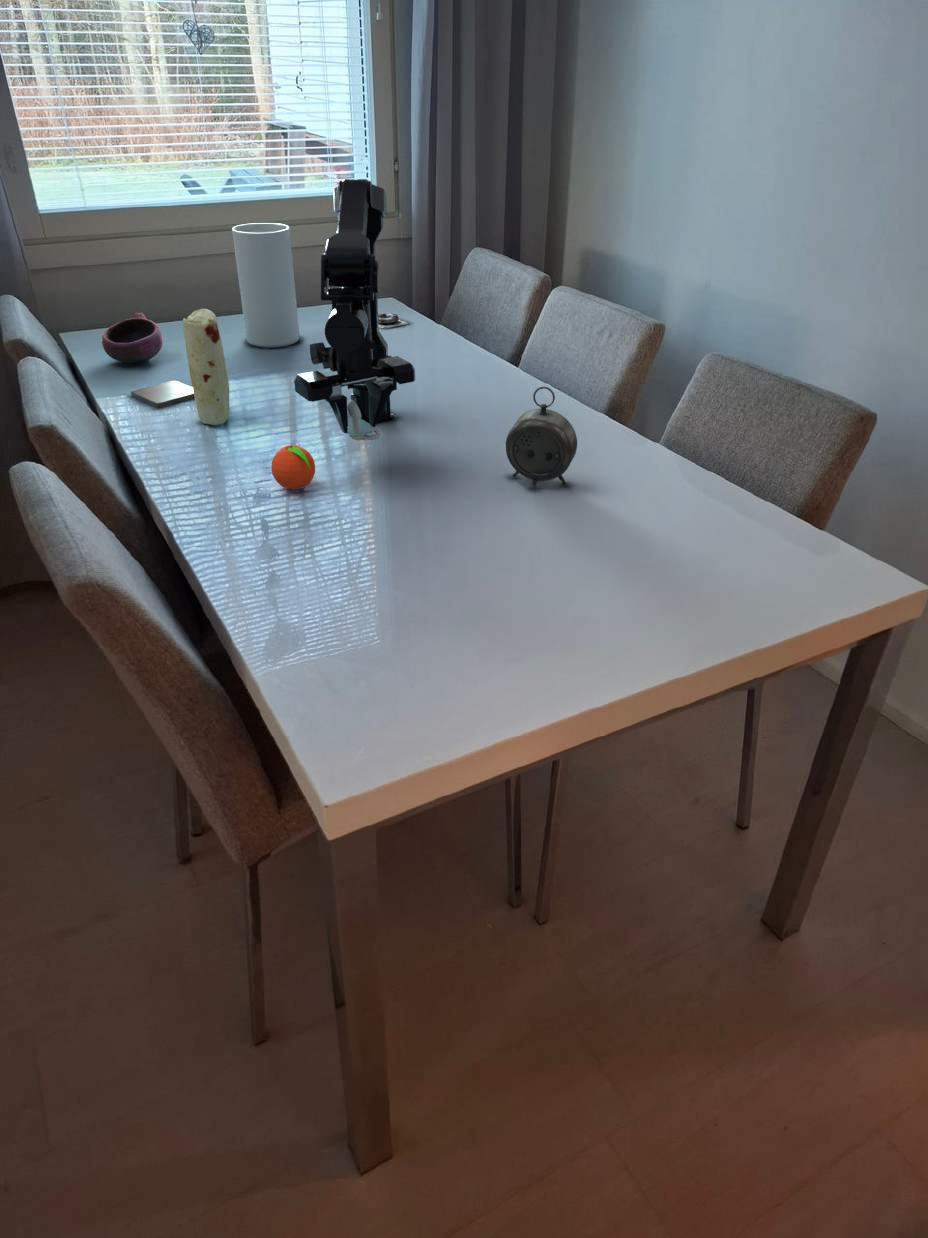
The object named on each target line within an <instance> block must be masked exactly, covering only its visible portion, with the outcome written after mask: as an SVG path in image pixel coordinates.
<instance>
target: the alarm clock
mask: <svg viewBox="0 0 928 1238" xmlns="http://www.w3.org/2000/svg"><path fill="white" fill-rule="evenodd" d="M544 389H545V390H547V391H549V392H550V393H551V395H552V401H551V402H550V404H548V405H547V404H546V403H541V404H540V403H538V402H537V400H536V395H537V392H539V391H540V390H544ZM532 398H533V402H534V403H535V405H536V406H538V407H540V408H534V409H531V410H528V411H525V412H524V413H523V414H521V415H520V416H519V417H518V418H517V419H516V421H515V422H514V424H513V425H512V427H511V429H510V430H509V431H508V433H507V436H506V440H505V454H506V457H507V459H508V461H509V463H510V465H511V467H512V468H513V469H514V470H515V471H514V473H512V477H513V478H516V477H517V476H518V475H519V474H520V475H521V476H522V477H524V478H526V479H528V480H532V484H531V488H532V489H534V490H535V489H536V488H537V486H538V485H537V484H538V482H549V481H552V480H555V479H558V480H559V481H561V483H562V485H563V486H566V485H567V481H566V480H565V478H564V477H565V476H563V475H564V473H566V471H567V470H568V469H569V467H570V465H571V463H572V462H573V460H574V458H575V456H576V453H577V449H578V437H577V433H576V431H575V429H574V427H573V425H572V424H571V422H570V421H569V420H568V419H567V418H566V417H565V416H563V415H562V414H561V413H559V412H557V411H555V410H552V409H548V408H549V407H551V406H552V405H554V403H555V400H556V396H555V392H554V391H553V390H552V388H550V387H548V386H545V385H544V386H539V387H537V388H536V389H535V391H533V396H532Z"/></svg>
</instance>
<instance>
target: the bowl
mask: <svg viewBox="0 0 928 1238" xmlns="http://www.w3.org/2000/svg"><path fill="white" fill-rule="evenodd" d="M101 339H102V340H101V344H102V349H103V351H104V352H105V354H106V355H107V356H109V357H110V358H111V359H113V360H116V361H118V362H121V363H125V364H126V363H127V364H139V363H145V362H147V361H149V360H151V359H153V358H154V357H155V356H157V355H158V354H159V353H160V351H161V350H162V347H163V344H164V343H163V334H162V331H161V329H160V327H159V325H158V324H157V323H156V322H154V321H152V320H150V319H148V318H147V316H146V315H145V314H144V313H143V312H135V313H134V314H133V316H132V317H131V318H127V319H124V320H122V321H119V322H117V323H115V324H113V325H111V326H109V327H108V328H106V330H105V331H104V333H103V334H102V338H101Z"/></svg>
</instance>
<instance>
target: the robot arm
mask: <svg viewBox="0 0 928 1238" xmlns="http://www.w3.org/2000/svg"><path fill="white" fill-rule="evenodd" d="M338 183H339V184H338V185H337V186H336V187H334V188H333V213H334V214H335V216H336V218H338V219H337V229H336V233H334V234H333V235H332V236H330V237H329V238H328V239H327V240H326V244H325V250H324V253H321V256H320V301H331V311H330V313H329V315H328V317H327V318H328V319H327V321H326V323H325V326H324V337H325V339H326V342H327V344H328V345H329V346H327V347H326V345H325V343H324V342H322V341H321V342H316V343H315V342H314V343H309V356H310V360H311V363H312V364H313V365H315V366H316V365H319V364H322V367H323V370H325V369H329V370H330V371H331V372H332V373H334V372H335V373H336V374H333V375H332V374H331V375H327V376H326V375H325V374H323V373H322V372H320V371H319V370H314V371H308V372H302V373H297V374H296V376H295V379H294V381H293V384H294V385H293V386H294V392H295V393H297V394H298V395H299V396H301V397H302V398H303V399H305V400H306V401H308V402H319V401H325V402H327V403H328V404H329V406H330V408H331V410H332V412H333V414H334V416H335V418H336V421H337V423H338V425H339V427H340V430H341V432H342V433H343V434H345V435H347V430H348V416H349V413H348V409H347V406H348V397H347V396H346V395H344V393H343V392H342V391H343V390H342V387H347V390H351V389H352V393H351V394H350V401H351V400H353V401H354V402H355V403H356V404H357V406H358V408H359V410H360V412H361V419H362V420H364V421H366V422H367V423H369V424H370V425H371V426H372V427H377V424H378V422H384V421H389V420H392V419H395V418H396V415H395V414H393V413H392V411H391V395H392V393H393V392H394V391H397V389H398V384H399V385H403V384H409V383H414V382H415V381H416V369H415V367H414V365H413V364H412V363H411V362H409V361H407V360H406V359H403V358H402V357H400V356H398V355H395V356H392V355H389V345H388V342H387V341H386V340H385V338H384V336H383V334H382V333H381V331H380V330H379V329H380V327H379V326H378V314H379V307H378V306H379V305H378V304H379V303H378V302H379V301H378V293H379V268H380V267H379V261H378V260H377V258H376V257H377V255H376V243H377V240H378V238H379V236H380V234H381V232H382V230H383V229H384V218H385V219H386V218H387V215H388V214H387V213H388V210H387V209H388V207H387V195H386V191H385V189H384V188H383V187H381V186H377V185H375V184H373V183H372V180H368V179H366V178H344V179H343V180H339V181H338ZM328 286H329V287H328Z"/></svg>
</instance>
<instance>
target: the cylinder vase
mask: <svg viewBox="0 0 928 1238" xmlns="http://www.w3.org/2000/svg"><path fill="white" fill-rule="evenodd" d="M231 232H232V237H233V238H232V240H233V248H234V255H235V263H236V270H237V278H238V285H239V286H238V287H239V293H240V300H241V307H242V308H241V309H242V316H243V323H244V331H245V332H244V333H245V338H246V341H247V343H248V344H249V345H251V346H254V347H257V348H265V349H267V348H269V349H273V348H284V347H289V346H291V345H294V344H296V343H297V342H298V341H299V340H300V338H301V337H300V335H301V334H300V324H299V315H298V305H297V293H296V285H295V283H296V282H295V273H294V263H293V253H292V242H291V230H290V226H289V225H287V224H283V223H277V222H254V223H253V222H252V223H245V224H244V223H243V224H238V225H236V226H235V225H234V226H233V227H232V228H231Z"/></svg>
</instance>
